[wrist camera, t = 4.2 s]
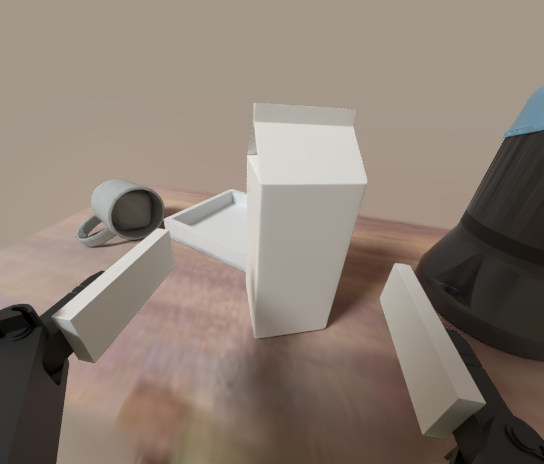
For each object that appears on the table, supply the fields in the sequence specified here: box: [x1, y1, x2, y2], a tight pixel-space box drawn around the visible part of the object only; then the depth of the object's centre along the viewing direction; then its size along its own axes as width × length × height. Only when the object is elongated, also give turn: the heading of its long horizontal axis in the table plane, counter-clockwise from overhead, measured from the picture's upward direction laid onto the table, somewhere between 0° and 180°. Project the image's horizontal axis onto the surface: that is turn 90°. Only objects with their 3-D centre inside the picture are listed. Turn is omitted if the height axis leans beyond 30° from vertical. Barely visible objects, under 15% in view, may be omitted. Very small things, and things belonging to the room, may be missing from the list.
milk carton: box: [246, 103, 368, 339], centre depth 20 cm, size 7×7×19 cm
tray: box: [163, 189, 247, 272], centre depth 37 cm, size 16×16×3 cm
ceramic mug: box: [76, 179, 165, 247], centre depth 33 cm, size 11×8×8 cm
